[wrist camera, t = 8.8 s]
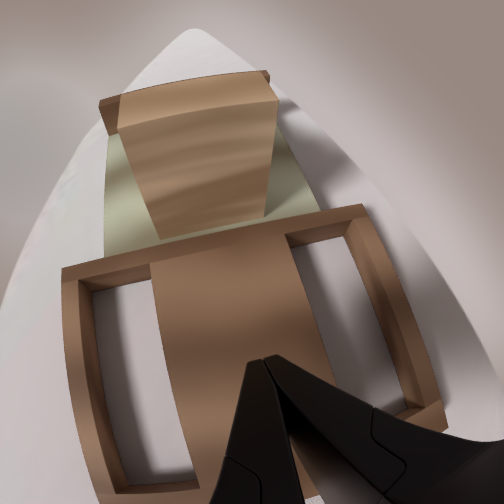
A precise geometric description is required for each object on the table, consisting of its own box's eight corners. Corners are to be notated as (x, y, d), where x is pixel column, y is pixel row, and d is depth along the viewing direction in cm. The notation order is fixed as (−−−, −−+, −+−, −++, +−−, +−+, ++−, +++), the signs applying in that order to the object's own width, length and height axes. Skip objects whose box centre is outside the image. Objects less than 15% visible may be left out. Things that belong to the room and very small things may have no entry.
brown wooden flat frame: (429, 427, 13) (482, 427, 9) (120, 513, 10) (84, 543, 6) (293, 114, 25) (301, 69, 21) (85, 155, 22) (65, 112, 18)
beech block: (263, 217, 17) (279, 100, 10) (160, 240, 16) (117, 128, 9) (226, 115, 22) (226, 23, 14) (150, 130, 21) (130, 39, 13)
